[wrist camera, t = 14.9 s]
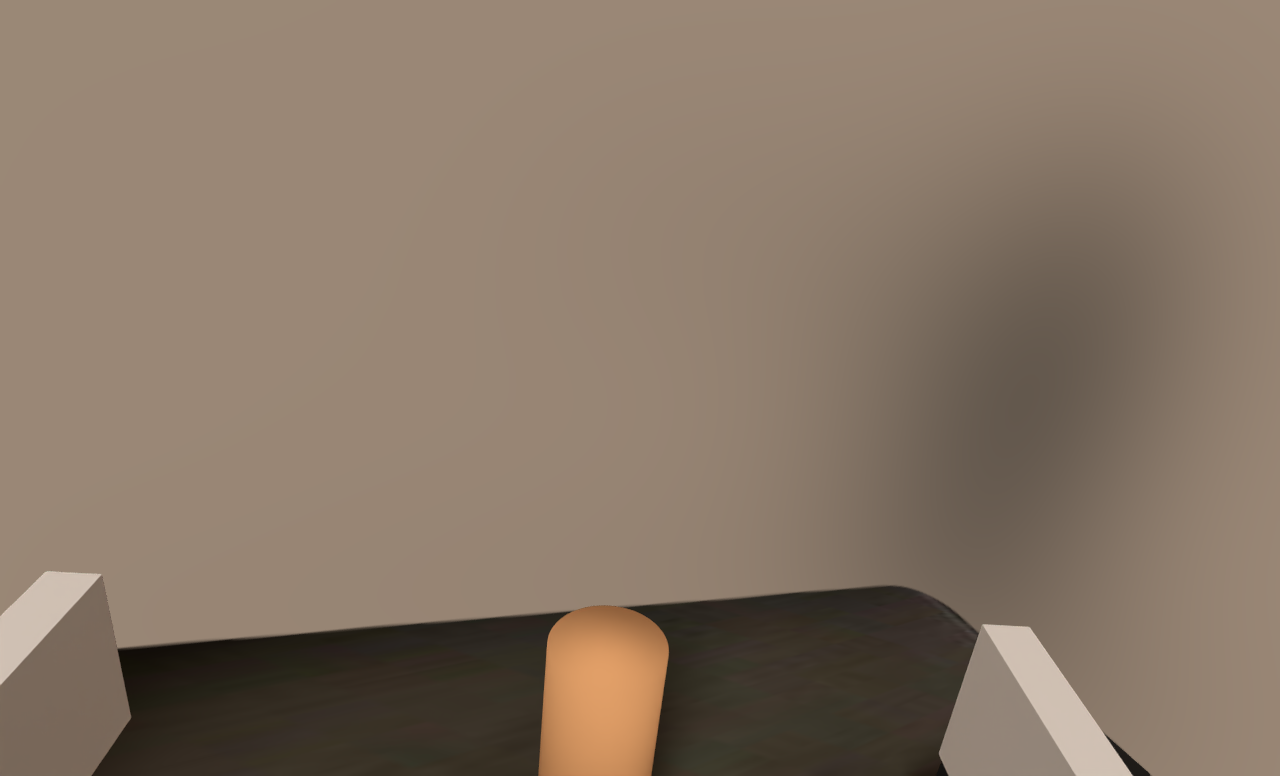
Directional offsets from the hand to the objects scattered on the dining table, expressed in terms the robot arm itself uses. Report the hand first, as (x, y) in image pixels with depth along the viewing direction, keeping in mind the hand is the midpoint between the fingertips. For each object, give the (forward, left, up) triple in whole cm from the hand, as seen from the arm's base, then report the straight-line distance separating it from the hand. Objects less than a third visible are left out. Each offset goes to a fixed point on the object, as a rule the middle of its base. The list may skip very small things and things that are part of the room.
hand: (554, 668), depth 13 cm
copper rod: (+2, +17, -29) cm, 34 cm away
